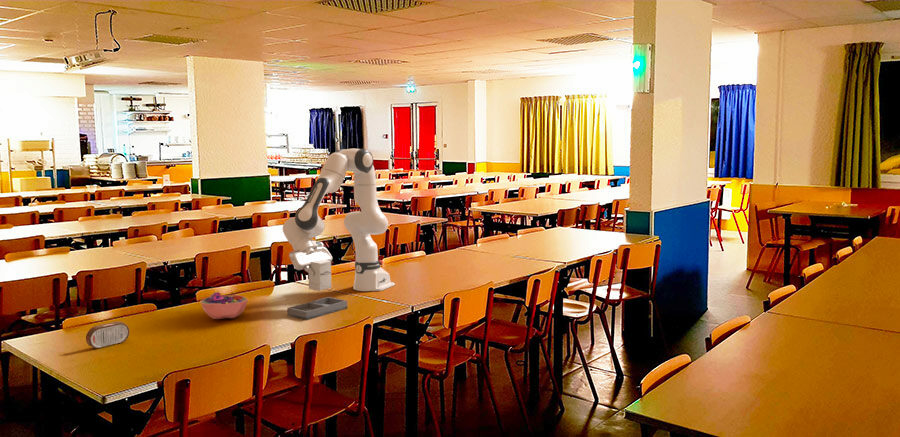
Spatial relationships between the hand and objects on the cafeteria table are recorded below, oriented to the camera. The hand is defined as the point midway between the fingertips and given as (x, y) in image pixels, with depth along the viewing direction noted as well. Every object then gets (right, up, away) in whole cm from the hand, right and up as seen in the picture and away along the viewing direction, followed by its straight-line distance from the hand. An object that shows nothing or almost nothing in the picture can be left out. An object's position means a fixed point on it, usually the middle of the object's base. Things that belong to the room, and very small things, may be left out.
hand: (320, 272), depth 301 cm
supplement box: (-1, -7, +1) cm, 8 cm away
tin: (-69, -23, -50) cm, 89 cm away
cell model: (-38, -19, -13) cm, 45 cm away
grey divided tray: (0, -17, -4) cm, 17 cm away
